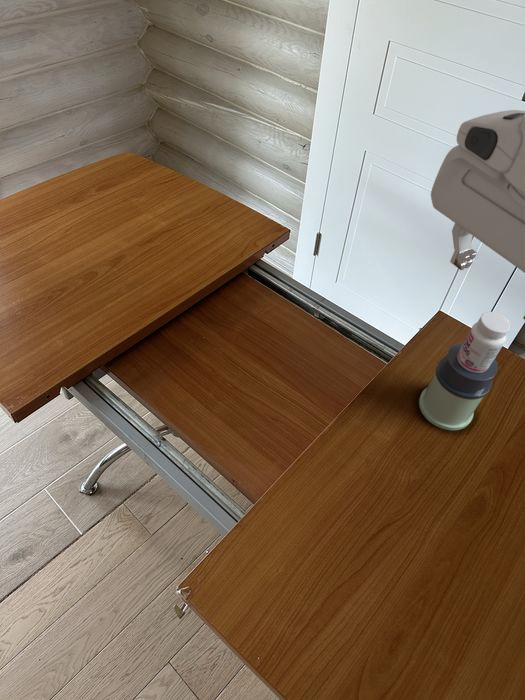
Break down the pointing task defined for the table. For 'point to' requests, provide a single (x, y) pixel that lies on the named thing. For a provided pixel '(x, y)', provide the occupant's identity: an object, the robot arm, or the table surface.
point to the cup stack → (454, 392)
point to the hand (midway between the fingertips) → (494, 292)
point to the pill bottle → (483, 342)
